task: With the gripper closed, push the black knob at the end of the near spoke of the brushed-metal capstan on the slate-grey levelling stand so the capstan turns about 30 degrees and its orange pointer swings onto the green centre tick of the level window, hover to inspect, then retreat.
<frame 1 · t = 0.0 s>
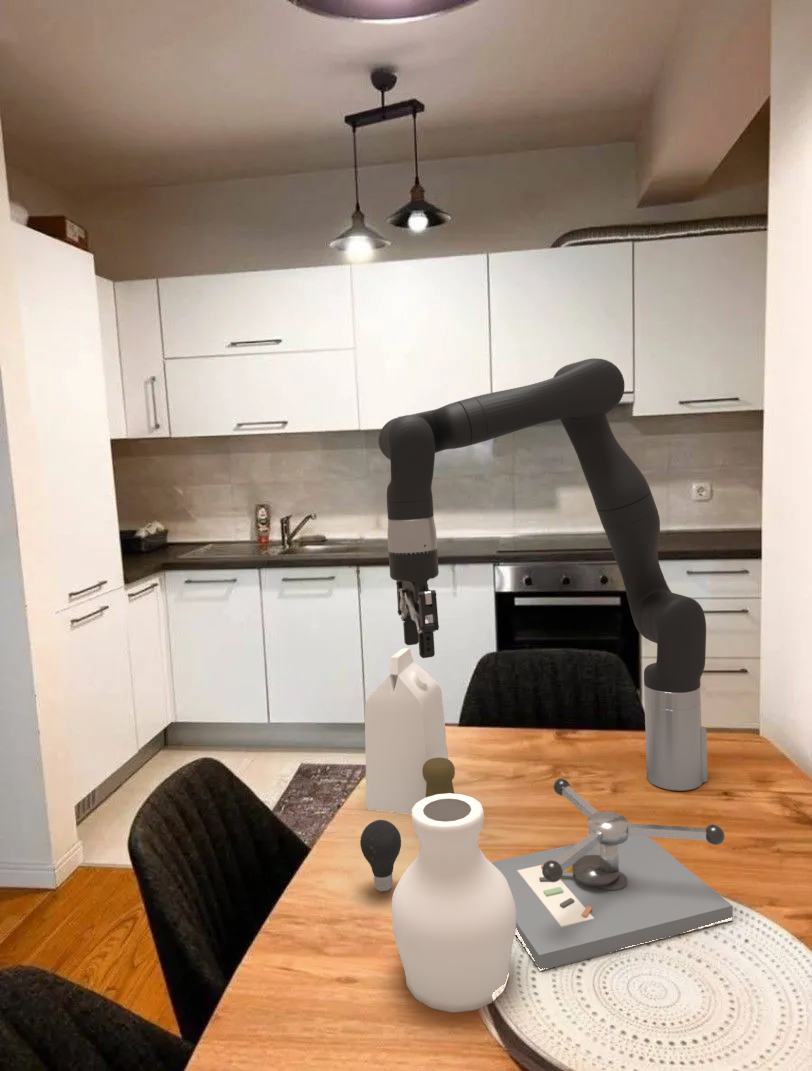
hand: (419, 650, 116), 29 cm above the table, fingers open, 8 cm apart
light bulb: (384, 892, 103), on the table
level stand: (597, 898, 98), on the table
vase: (457, 975, 86), on the table
cork: (442, 827, 120), on the table
milk: (409, 798, 131), on the table
capstan: (631, 849, 97), point 7 cm above the table, hinge at -30.0°
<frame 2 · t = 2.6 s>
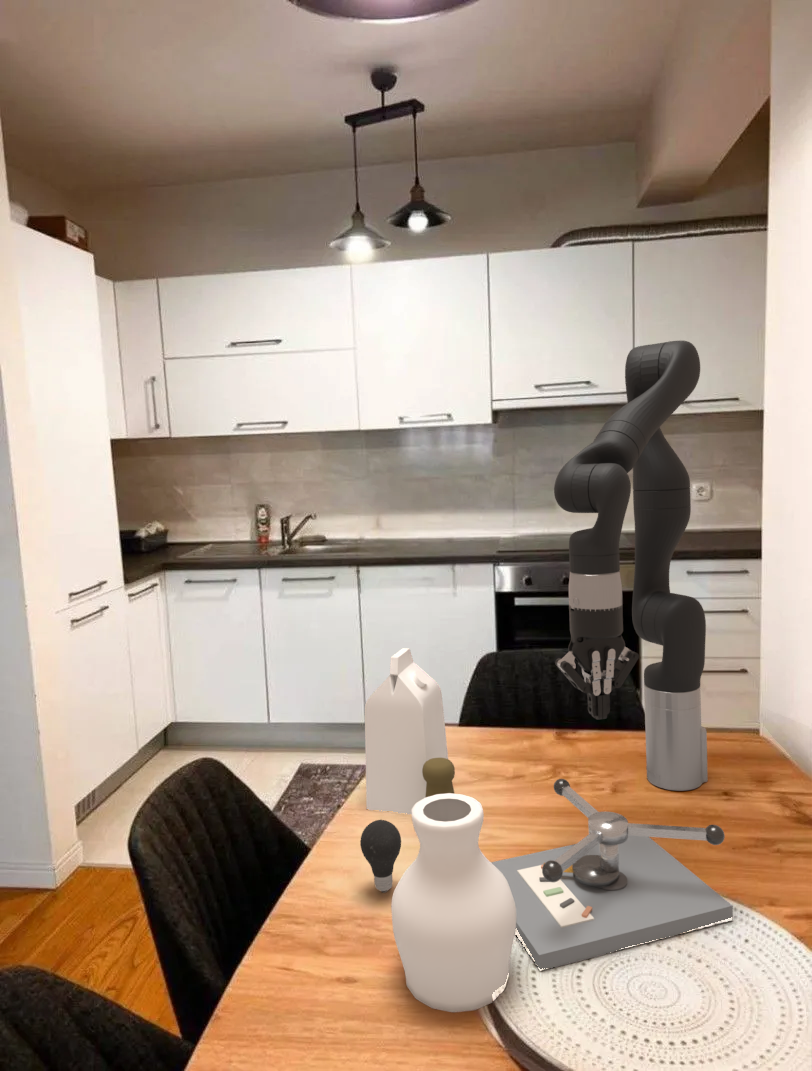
hand: (598, 717, 110), 19 cm above the table, fingers closed
nothing on the table moved.
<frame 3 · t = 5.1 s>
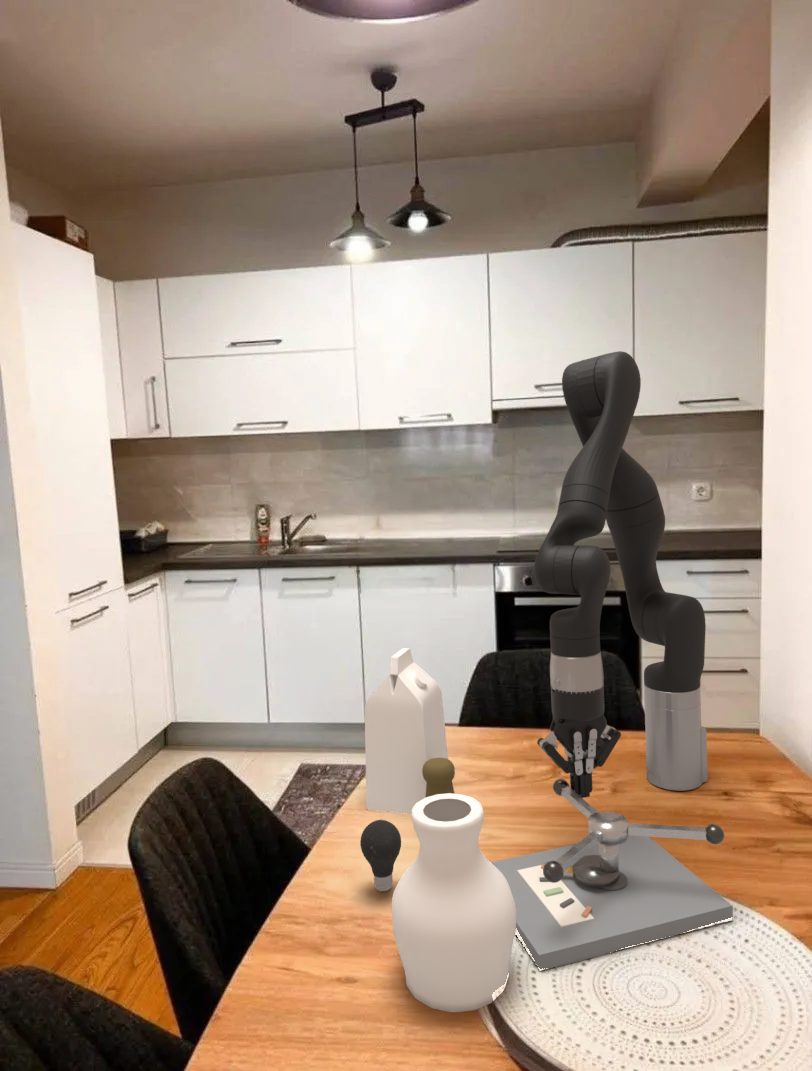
hand: (581, 795, 110), 8 cm above the table, fingers closed
capstan: (631, 848, 97), point 7 cm above the table, hinge at -29.4°, touching gripper
everything else where it was.
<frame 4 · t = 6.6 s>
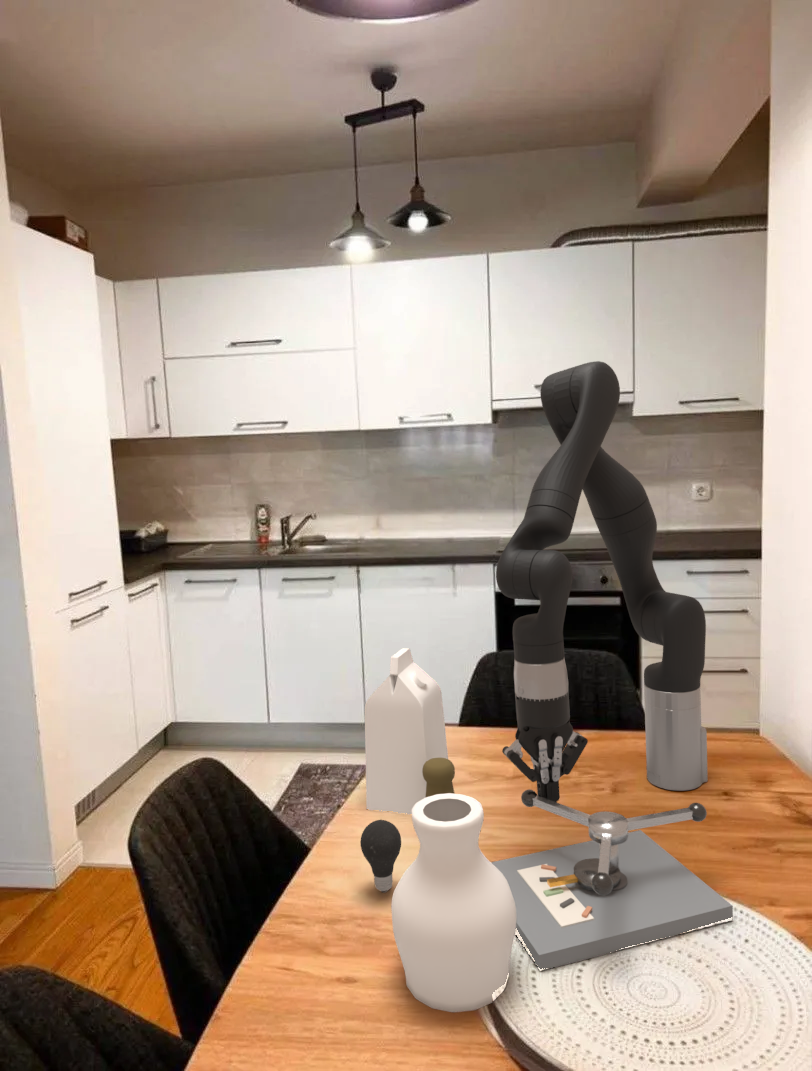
hand: (548, 804, 108), 8 cm above the table, fingers closed
capstan: (628, 843, 99), point 7 cm above the table, hinge at -3.3°, touching gripper
everything else where it was.
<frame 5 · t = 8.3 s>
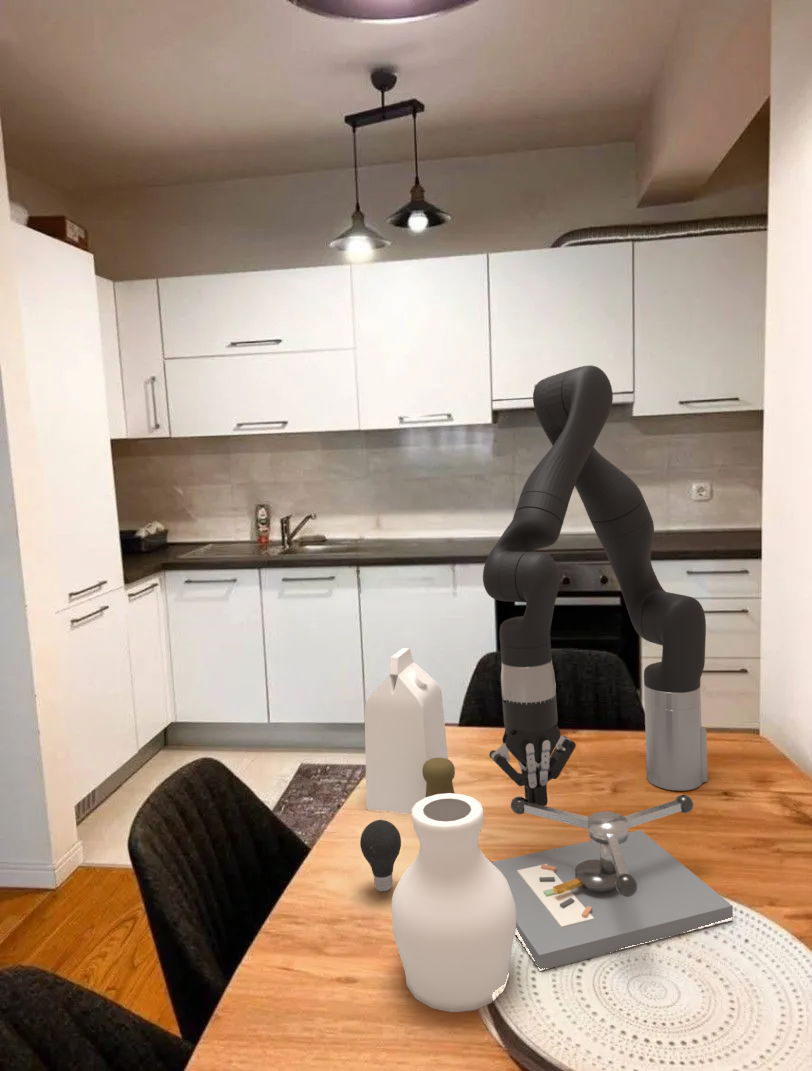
hand: (536, 808, 107), 8 cm above the table, fingers closed
capstan: (625, 841, 99), point 7 cm above the table, hinge at 8.4°, touching gripper
everything else where it was.
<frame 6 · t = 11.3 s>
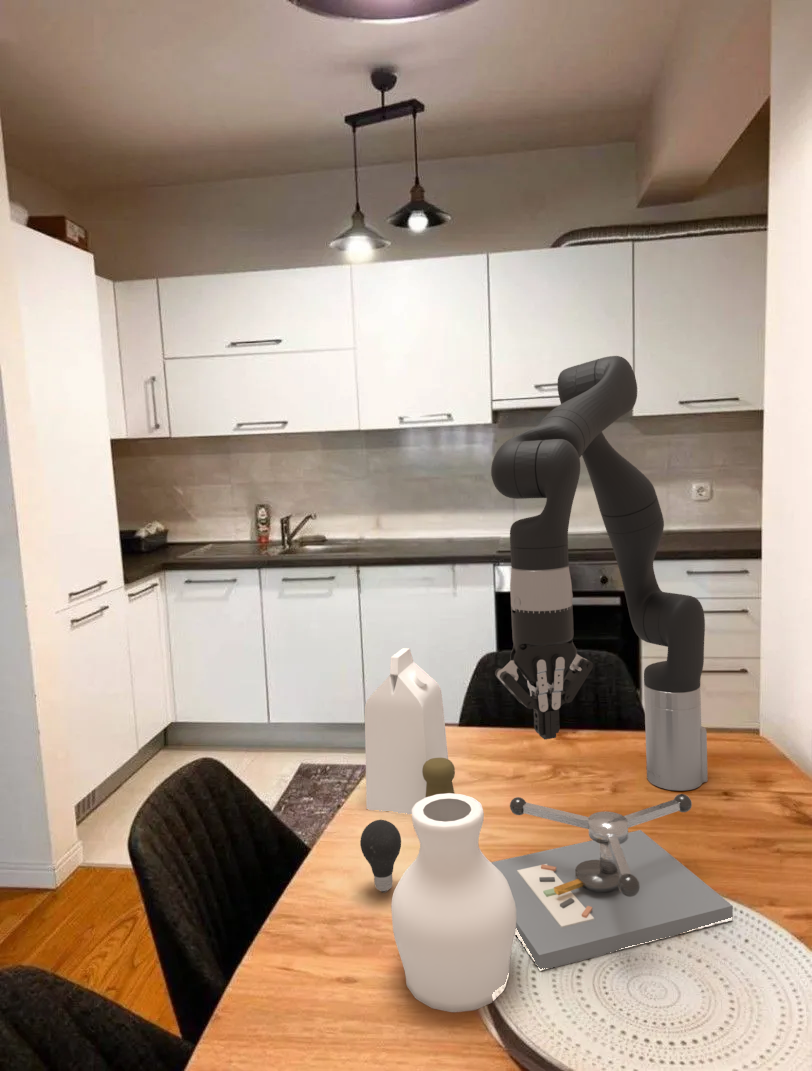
hand: (547, 736, 94), 23 cm above the table, fingers closed
capstan: (625, 841, 99), point 7 cm above the table, hinge at 9.6°
everything else where it was.
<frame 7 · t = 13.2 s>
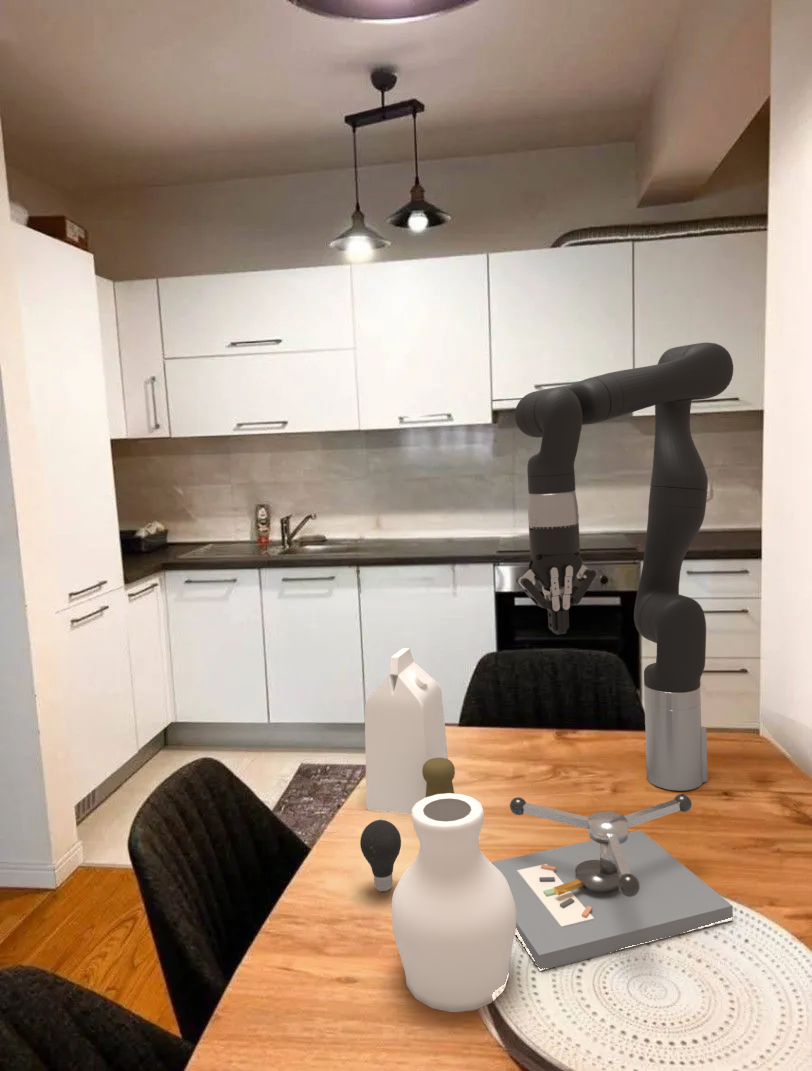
hand: (559, 632, 116), 31 cm above the table, fingers closed
nothing on the table moved.
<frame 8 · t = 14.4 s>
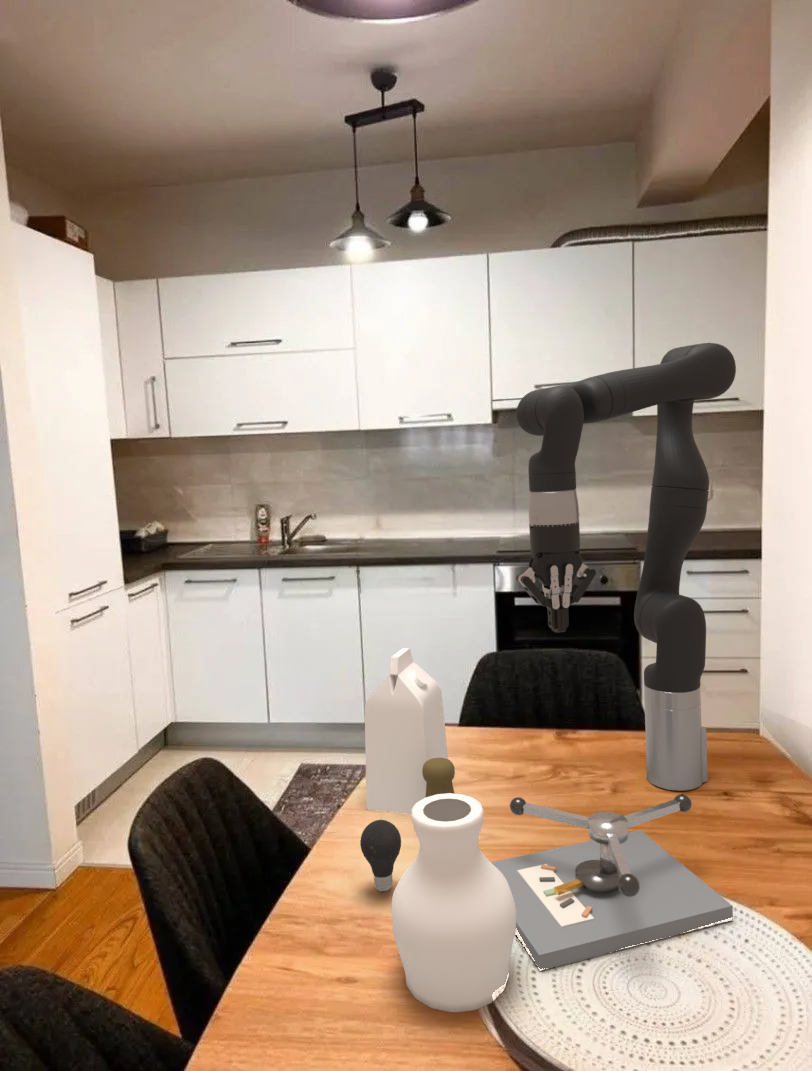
hand: (558, 631, 116), 31 cm above the table, fingers closed
nothing on the table moved.
at the end: capstan at +10° (first picture: -30°) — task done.
